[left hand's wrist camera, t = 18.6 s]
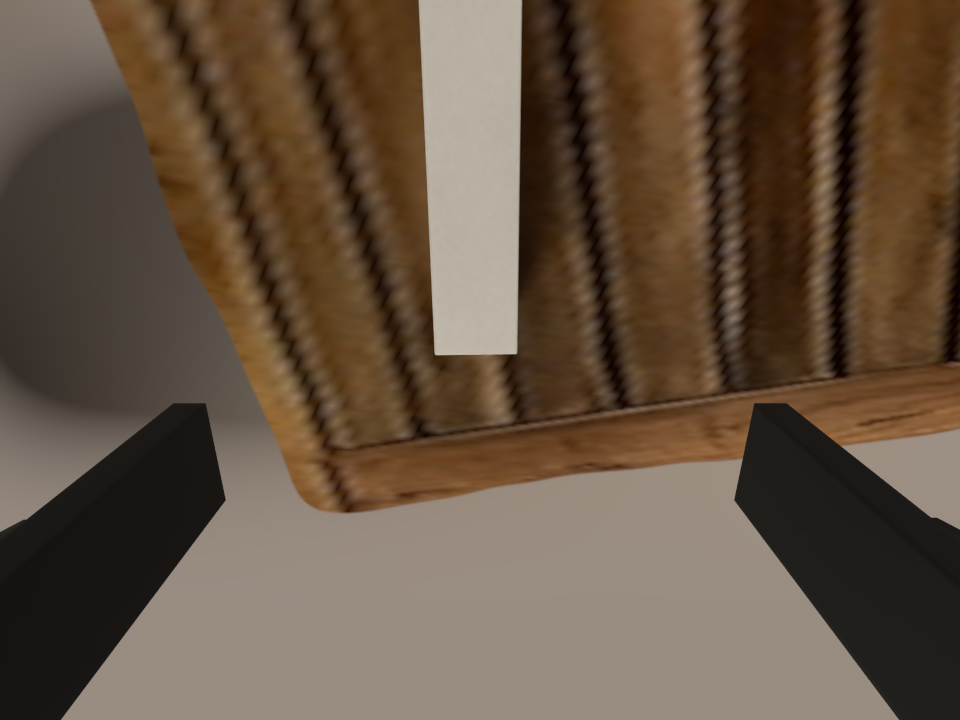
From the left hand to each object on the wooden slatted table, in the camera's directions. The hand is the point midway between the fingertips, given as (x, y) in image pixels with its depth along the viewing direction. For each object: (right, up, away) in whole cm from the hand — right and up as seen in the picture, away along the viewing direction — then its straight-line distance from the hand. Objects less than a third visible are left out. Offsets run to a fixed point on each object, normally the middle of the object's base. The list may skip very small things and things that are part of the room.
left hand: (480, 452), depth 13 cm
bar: (0, +17, +22) cm, 28 cm away
